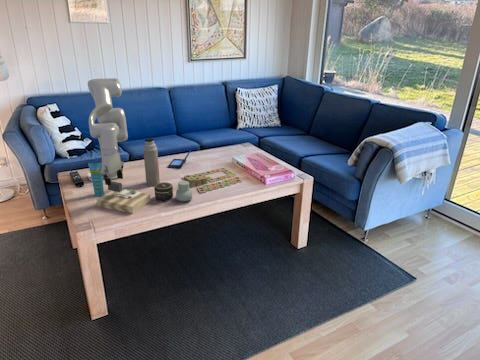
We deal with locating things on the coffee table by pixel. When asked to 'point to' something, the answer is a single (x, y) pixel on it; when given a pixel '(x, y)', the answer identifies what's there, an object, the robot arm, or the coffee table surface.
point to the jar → (163, 191)
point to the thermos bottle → (151, 162)
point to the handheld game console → (178, 162)
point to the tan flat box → (124, 201)
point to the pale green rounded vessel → (183, 191)
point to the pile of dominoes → (211, 180)
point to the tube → (97, 178)
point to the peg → (116, 188)
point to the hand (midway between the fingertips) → (114, 181)
